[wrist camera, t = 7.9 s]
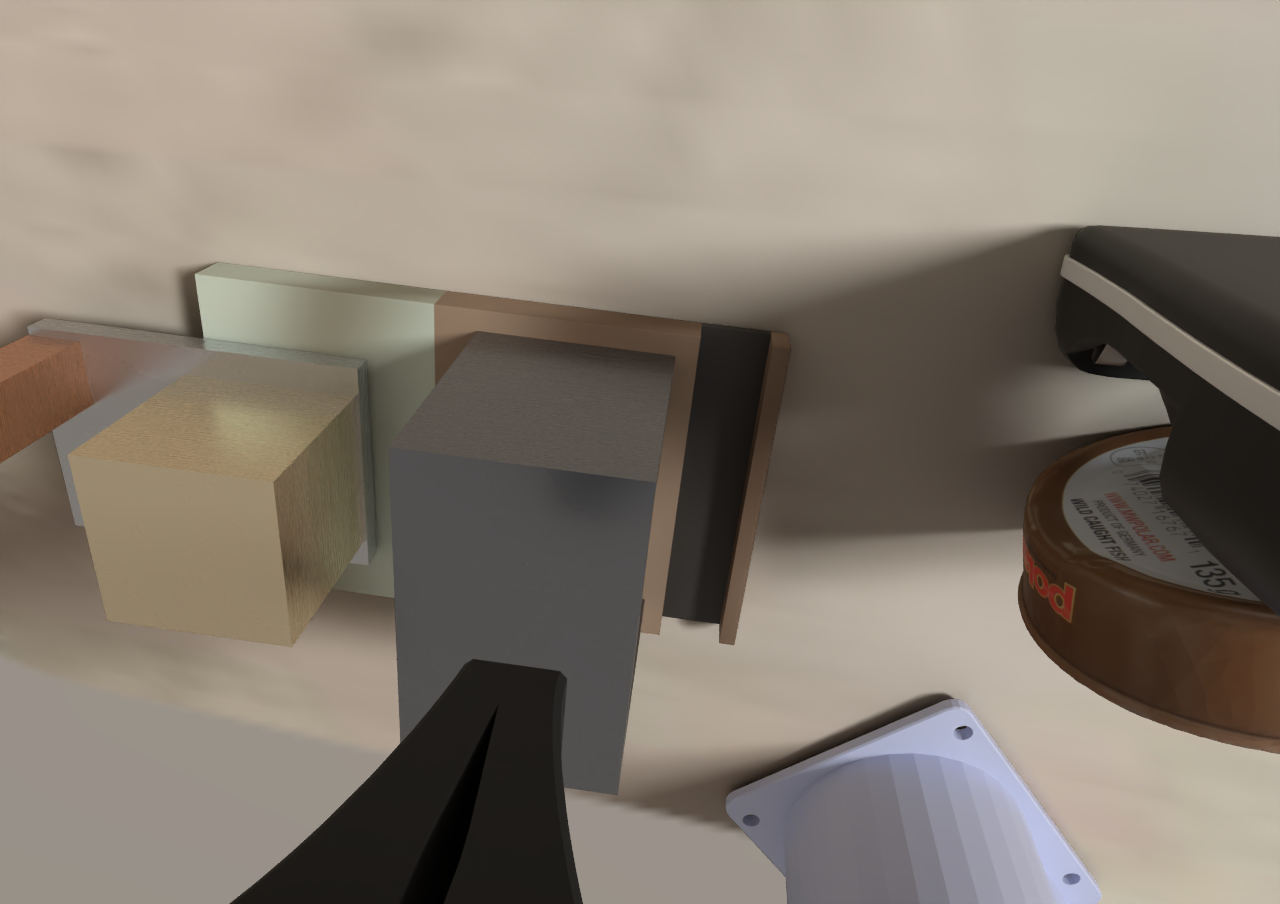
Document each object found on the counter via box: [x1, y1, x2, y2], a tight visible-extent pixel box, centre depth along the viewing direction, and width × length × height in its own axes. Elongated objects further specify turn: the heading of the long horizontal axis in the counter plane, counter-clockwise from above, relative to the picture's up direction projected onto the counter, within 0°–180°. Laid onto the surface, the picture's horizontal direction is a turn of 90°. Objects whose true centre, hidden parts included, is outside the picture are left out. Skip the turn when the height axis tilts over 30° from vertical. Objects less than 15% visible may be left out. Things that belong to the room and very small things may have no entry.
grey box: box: [388, 331, 675, 795], centre depth 19 cm, size 4×7×6 cm, turn 174°
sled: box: [0, 318, 377, 647], centre depth 18 cm, size 8×5×8 cm
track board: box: [195, 262, 791, 645], centre depth 22 cm, size 14×8×1 cm, turn 84°
